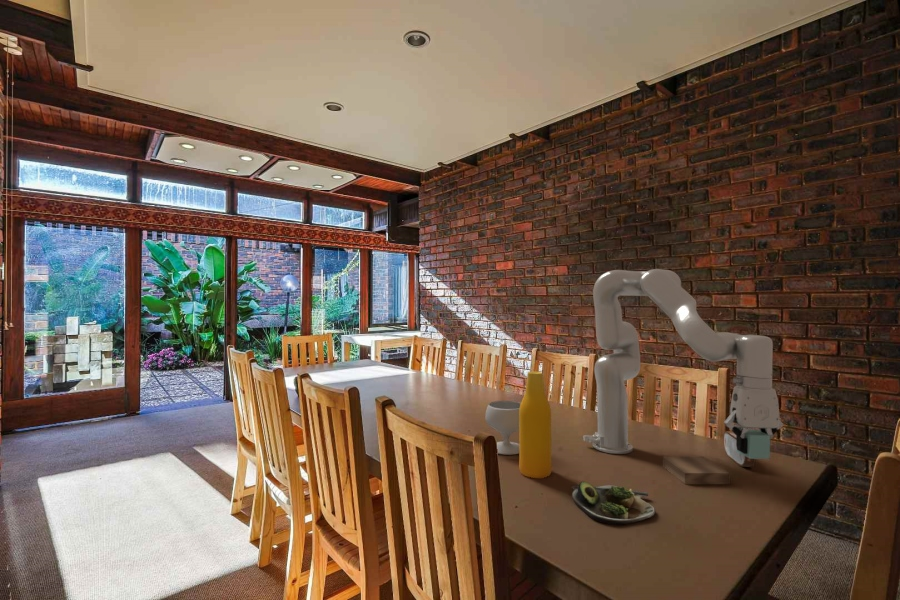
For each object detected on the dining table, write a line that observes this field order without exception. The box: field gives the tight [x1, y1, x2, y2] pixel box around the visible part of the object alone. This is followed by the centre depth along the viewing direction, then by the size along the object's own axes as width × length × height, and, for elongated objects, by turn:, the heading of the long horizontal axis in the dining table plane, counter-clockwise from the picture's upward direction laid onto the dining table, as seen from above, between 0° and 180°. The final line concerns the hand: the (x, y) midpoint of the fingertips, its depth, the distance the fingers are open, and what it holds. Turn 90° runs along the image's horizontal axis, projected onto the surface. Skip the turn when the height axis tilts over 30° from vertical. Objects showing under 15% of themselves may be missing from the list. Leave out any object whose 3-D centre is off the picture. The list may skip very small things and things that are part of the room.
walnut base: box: [662, 456, 731, 485], centre depth 120 cm, size 12×12×3 cm
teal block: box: [737, 428, 771, 460], centre depth 110 cm, size 5×5×6 cm
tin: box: [722, 430, 756, 468], centre depth 129 cm, size 15×3×8 cm, turn 168°
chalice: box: [484, 400, 521, 456], centre depth 141 cm, size 14×14×15 cm
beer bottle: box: [518, 371, 552, 479], centre depth 122 cm, size 9×9×29 cm
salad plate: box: [571, 481, 656, 526], centre depth 102 cm, size 19×18×5 cm
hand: (752, 451), depth 110 cm, fingers closed on teal block, 5 cm apart
